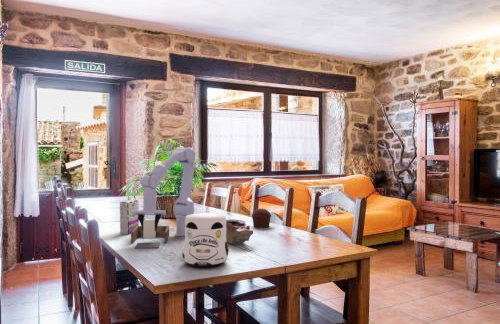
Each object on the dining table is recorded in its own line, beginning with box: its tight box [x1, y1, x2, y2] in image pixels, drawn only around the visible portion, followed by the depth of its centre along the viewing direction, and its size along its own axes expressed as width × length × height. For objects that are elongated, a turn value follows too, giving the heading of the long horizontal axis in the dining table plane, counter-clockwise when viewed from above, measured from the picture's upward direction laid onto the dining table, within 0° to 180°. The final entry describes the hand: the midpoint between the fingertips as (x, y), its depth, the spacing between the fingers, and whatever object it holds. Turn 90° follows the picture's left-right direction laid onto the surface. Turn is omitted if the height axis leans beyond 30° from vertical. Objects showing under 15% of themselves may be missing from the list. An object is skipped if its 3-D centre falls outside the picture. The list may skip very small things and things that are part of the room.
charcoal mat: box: [134, 241, 161, 250], centre depth 177 cm, size 10×9×1 cm
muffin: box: [251, 208, 272, 229], centre depth 225 cm, size 12×11×10 cm
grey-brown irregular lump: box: [226, 219, 254, 244], centre depth 186 cm, size 13×20×10 cm, turn 25°
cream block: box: [143, 218, 157, 239], centre depth 184 cm, size 5×5×8 cm
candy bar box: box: [119, 199, 140, 235], centre depth 206 cm, size 11×5×16 cm, turn 168°
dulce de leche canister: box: [182, 212, 229, 268], centre depth 151 cm, size 17×17×18 cm
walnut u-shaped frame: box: [130, 225, 170, 245], centre depth 190 cm, size 16×16×5 cm
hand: (149, 230), depth 184 cm, fingers closed on cream block, 5 cm apart
